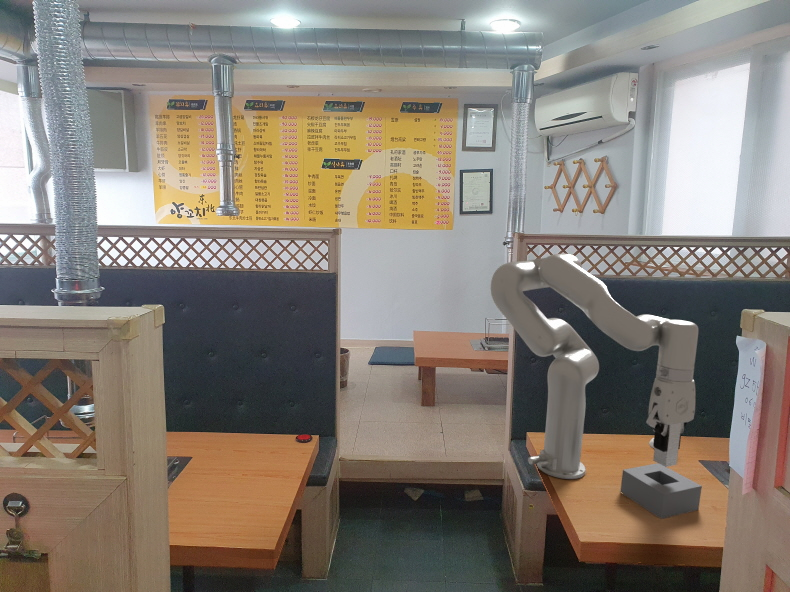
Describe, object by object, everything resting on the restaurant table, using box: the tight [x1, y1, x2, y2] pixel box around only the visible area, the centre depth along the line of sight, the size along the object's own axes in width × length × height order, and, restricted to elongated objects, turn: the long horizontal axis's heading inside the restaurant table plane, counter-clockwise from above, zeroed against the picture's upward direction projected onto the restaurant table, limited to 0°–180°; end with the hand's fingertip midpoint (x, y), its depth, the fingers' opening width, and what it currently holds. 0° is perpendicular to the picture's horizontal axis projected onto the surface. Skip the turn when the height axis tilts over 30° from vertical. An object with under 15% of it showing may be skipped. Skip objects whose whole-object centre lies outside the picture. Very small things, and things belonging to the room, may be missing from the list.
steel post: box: [652, 423, 681, 468], centre depth 123 cm, size 4×4×13 cm
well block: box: [619, 462, 703, 520], centre depth 125 cm, size 12×12×6 cm
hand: (666, 447), depth 124 cm, fingers closed on steel post, 3 cm apart
